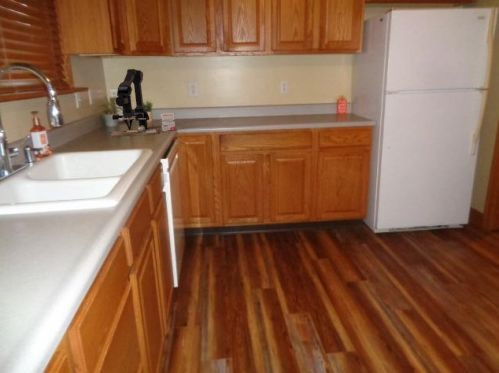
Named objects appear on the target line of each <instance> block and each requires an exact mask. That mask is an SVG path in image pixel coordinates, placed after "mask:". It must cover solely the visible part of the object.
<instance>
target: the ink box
mask: <svg viewBox="0 0 499 373" xmlns="http://www.w3.org/2000/svg"><path fill="white" fill-rule="evenodd" d="M159 116H160V124H161V125H160V126H161V131H162V130H163V131H162V132H168V131H167V130H174V132H175V131H176V130H177V129H176V119H175V118H176V117H175V113H174V112H165V113H164V112H163V113H160V115H159Z"/></svg>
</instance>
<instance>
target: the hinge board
mask: <svg viewBox="0 0 499 373" xmlns="http://www.w3.org/2000/svg"><path fill="white" fill-rule="evenodd" d="M141 126H143V125H141ZM127 131H129V129H127V130H117V131H116V130H115V131H112V133H111V134H110V135H111V136H112V138H116V137H118V138H119V137H133V136H134V137H135V136H149V135H148V134H151V135H159V130H158V129H154V128H153V129H145V127H144V126H143V127H140V128H139V132H138V133H136V132H129V133H126V132H127Z"/></svg>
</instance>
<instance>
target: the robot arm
mask: <svg viewBox="0 0 499 373" xmlns="http://www.w3.org/2000/svg"><path fill="white" fill-rule="evenodd" d="M143 77H144V73H143V71H142V70H140V69H139V70H138V69H135V68H128V69H127V70H126V75H125V77H124V79H123V81H122V82H120V83H119V85H118V86H117V92H116V96H117V97H116V98H115V100H114V101H115V104H116V105H117V106H118V107H122V108H121V109H122V115H121V114H120V113H119V114H117V113H116V114H113V115H111V116H112V118H111V119H112V120H115V121H117V120H119V119H121V120H122V121H123V122H124V124H126V126H127V127H126V128H128V129H127V130H131V129H132V125H133V124H132V123H133V121H138V127H139V126H141V125H143V126H144V127H145V130H149V126H148V121H150V115H149V114H148V111H147V107H145V105H144V100H143V88H142V82H143V80H144V78H143ZM132 84H133V87H132ZM133 88H134V90H133ZM132 91H134V95H135V96H134V97H135V104H136V105H135V108H134V109H133V106H132V105H133V104H132V98H131V97H132Z"/></svg>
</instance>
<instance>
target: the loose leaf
mask: <svg viewBox="0 0 499 373" xmlns="http://www.w3.org/2000/svg"><path fill="white" fill-rule="evenodd" d="M140 127H143V126H139V125H138V128H137V129H132V130H129V129H128V130H129V131H128V130H126V131H127V132H126V133H129V132H136V133H138V132H139V128H140Z"/></svg>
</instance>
